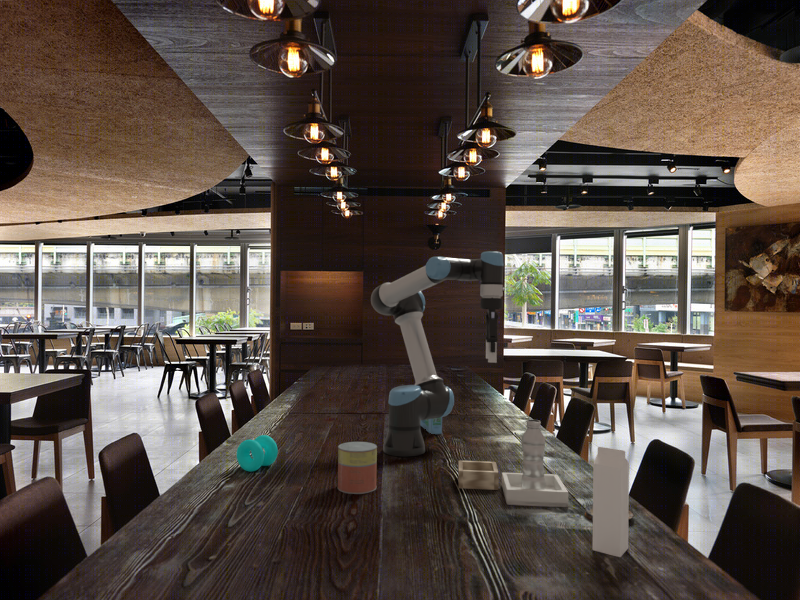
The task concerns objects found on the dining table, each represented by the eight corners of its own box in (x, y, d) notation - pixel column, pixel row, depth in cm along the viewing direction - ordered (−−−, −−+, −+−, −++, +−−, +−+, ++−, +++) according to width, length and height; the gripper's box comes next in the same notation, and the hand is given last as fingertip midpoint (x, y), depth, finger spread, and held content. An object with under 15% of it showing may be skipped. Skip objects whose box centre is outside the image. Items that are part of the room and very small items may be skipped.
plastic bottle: (546, 497, 157) (546, 423, 157) (520, 495, 158) (521, 422, 158) (545, 489, 163) (545, 419, 163) (520, 487, 165) (521, 418, 165)
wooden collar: (458, 488, 167) (458, 470, 167) (458, 476, 178) (458, 460, 178) (498, 489, 166) (498, 472, 166) (495, 478, 177) (495, 461, 177)
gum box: (419, 425, 255) (419, 373, 255) (430, 424, 256) (430, 373, 257) (431, 434, 236) (431, 379, 236) (442, 434, 237) (443, 378, 238)
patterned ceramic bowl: (610, 530, 137) (610, 499, 137) (574, 514, 148) (574, 485, 148) (645, 522, 143) (645, 492, 143) (608, 507, 153) (608, 479, 153)
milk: (600, 541, 130) (601, 443, 130) (628, 548, 126) (629, 448, 127) (592, 550, 125) (592, 448, 125) (620, 558, 121) (621, 453, 122)
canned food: (382, 484, 170) (382, 443, 170) (367, 496, 159) (368, 452, 159) (347, 480, 173) (347, 440, 174) (330, 491, 163) (331, 448, 163)
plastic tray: (506, 504, 153) (507, 489, 153) (501, 486, 169) (502, 472, 169) (568, 507, 152) (568, 492, 152) (557, 488, 168) (557, 474, 168)
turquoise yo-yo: (279, 466, 187) (279, 435, 187) (259, 474, 178) (260, 442, 178) (254, 462, 191) (255, 432, 191) (234, 470, 182) (234, 438, 182)
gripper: (506, 297, 181) (505, 364, 181) (499, 298, 206) (499, 357, 206) (482, 296, 182) (481, 363, 182) (478, 298, 207) (478, 357, 207)
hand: (490, 360), depth 194 cm, fingers open, 13 cm apart
